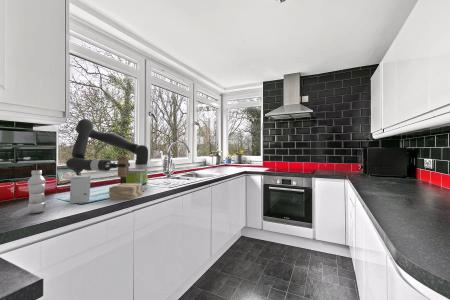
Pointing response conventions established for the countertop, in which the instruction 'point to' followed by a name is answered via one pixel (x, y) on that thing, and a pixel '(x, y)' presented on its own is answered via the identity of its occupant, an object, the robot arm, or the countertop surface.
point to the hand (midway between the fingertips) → (127, 165)
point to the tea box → (135, 178)
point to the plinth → (125, 191)
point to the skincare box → (80, 189)
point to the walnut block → (123, 170)
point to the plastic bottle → (36, 192)
